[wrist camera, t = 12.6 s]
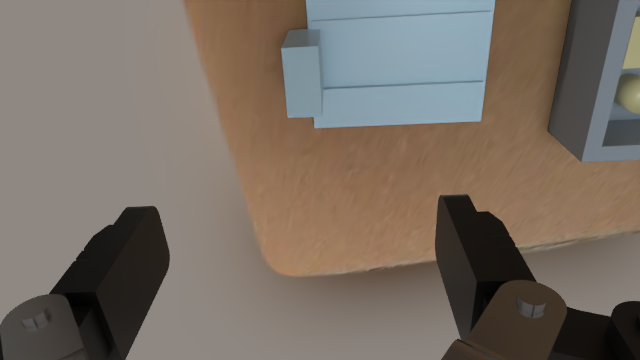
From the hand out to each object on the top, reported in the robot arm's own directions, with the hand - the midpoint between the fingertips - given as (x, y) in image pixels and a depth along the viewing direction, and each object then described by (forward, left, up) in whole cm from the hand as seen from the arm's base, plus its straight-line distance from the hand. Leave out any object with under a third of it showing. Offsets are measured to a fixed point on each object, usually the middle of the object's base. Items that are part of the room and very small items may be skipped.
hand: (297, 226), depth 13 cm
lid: (0, +5, -20) cm, 21 cm away
